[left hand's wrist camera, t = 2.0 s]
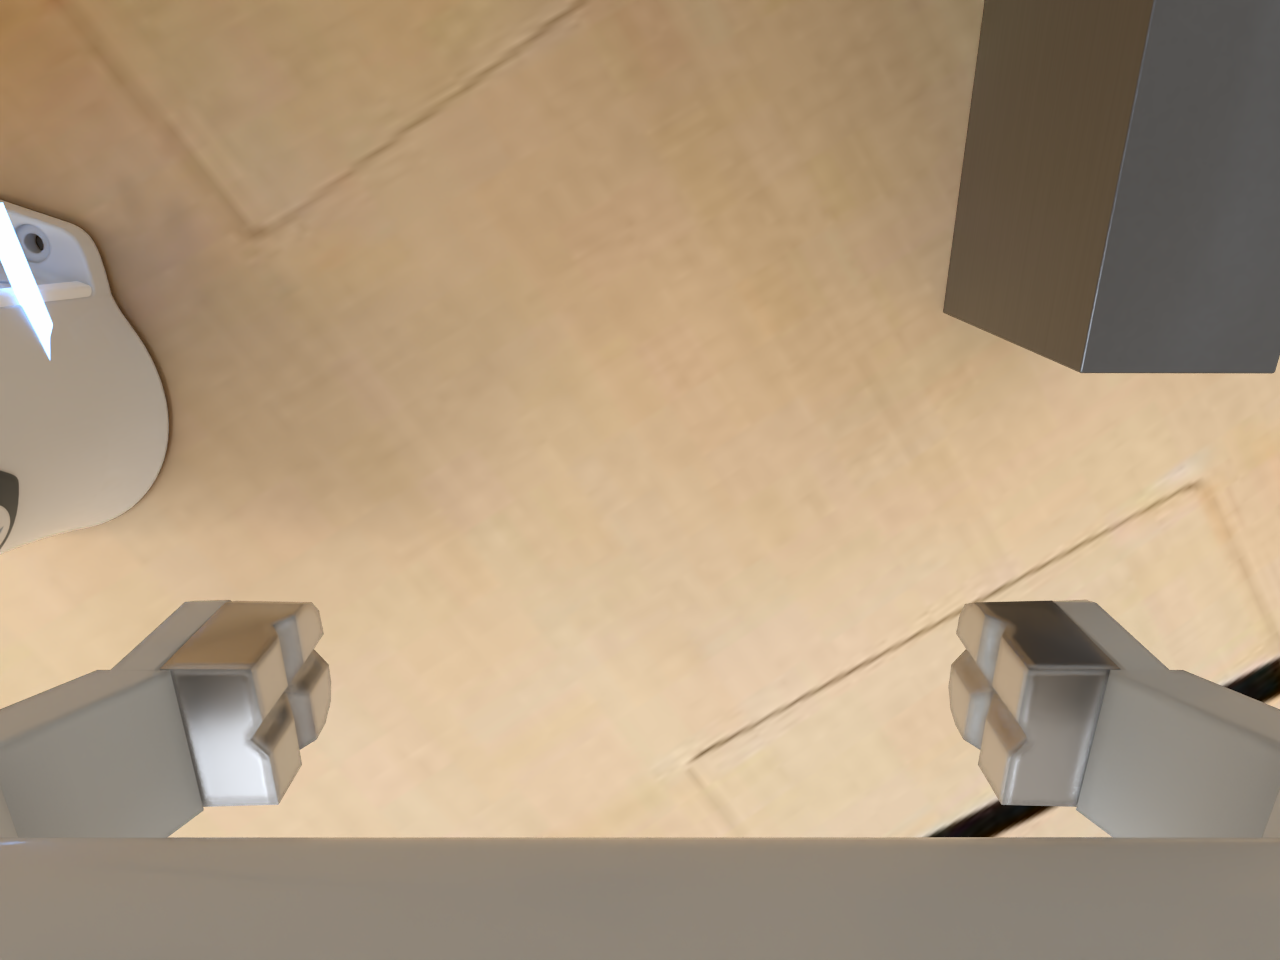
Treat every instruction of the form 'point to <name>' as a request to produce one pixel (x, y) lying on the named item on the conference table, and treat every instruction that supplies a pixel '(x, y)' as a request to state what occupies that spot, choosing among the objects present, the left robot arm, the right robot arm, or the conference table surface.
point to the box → (1124, 185)
